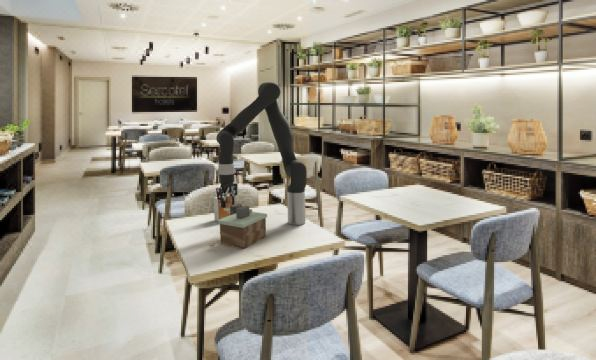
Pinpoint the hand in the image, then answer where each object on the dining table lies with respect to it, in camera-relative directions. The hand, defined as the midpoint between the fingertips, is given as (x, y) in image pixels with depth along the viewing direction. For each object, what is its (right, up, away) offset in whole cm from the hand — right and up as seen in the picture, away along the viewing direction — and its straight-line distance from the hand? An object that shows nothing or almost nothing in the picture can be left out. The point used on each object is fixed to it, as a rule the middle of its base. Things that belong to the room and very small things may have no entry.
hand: (227, 206), depth 208 cm
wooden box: (+8, -15, -8) cm, 19 cm away
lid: (+9, -6, -11) cm, 15 cm away
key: (+5, -2, -3) cm, 6 cm away
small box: (-6, -9, +24) cm, 27 cm away
